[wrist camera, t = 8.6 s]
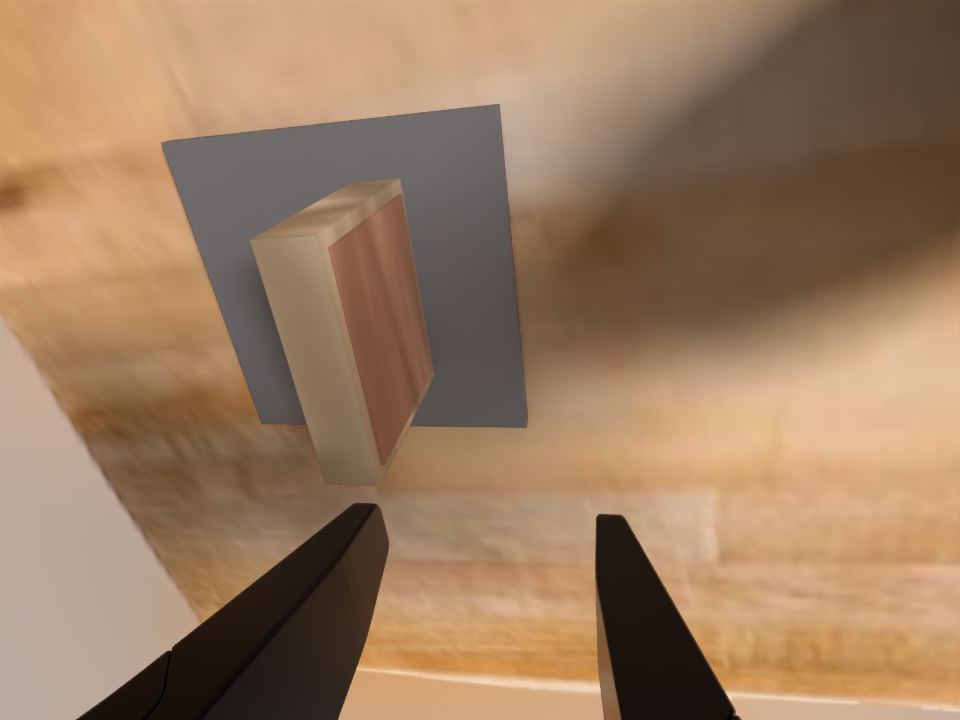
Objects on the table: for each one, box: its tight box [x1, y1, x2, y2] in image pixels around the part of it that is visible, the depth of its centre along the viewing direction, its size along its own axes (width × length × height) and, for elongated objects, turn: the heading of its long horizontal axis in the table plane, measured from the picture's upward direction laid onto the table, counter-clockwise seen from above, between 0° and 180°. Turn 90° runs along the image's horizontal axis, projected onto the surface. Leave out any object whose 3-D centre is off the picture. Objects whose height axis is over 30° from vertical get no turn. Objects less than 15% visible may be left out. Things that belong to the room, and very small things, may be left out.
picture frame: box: [250, 178, 434, 486], centre depth 17 cm, size 2×7×6 cm, turn 7°
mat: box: [161, 104, 528, 428], centre depth 20 cm, size 11×11×1 cm
